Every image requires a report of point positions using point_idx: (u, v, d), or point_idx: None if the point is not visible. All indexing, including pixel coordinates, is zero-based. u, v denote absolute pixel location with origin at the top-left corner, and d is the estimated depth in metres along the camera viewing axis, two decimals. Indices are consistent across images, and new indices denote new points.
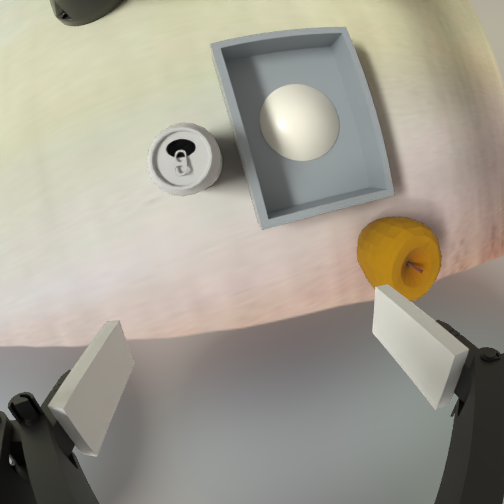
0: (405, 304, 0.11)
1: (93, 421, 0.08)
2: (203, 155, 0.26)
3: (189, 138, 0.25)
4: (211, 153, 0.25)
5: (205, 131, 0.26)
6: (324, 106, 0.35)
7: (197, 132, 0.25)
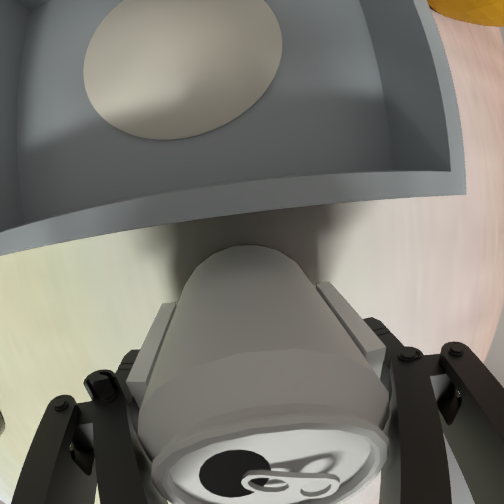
0: (337, 300, 0.13)
1: None
2: (283, 431, 0.05)
3: (201, 459, 0.05)
4: (290, 424, 0.05)
5: (170, 393, 0.06)
6: None
7: (176, 454, 0.05)
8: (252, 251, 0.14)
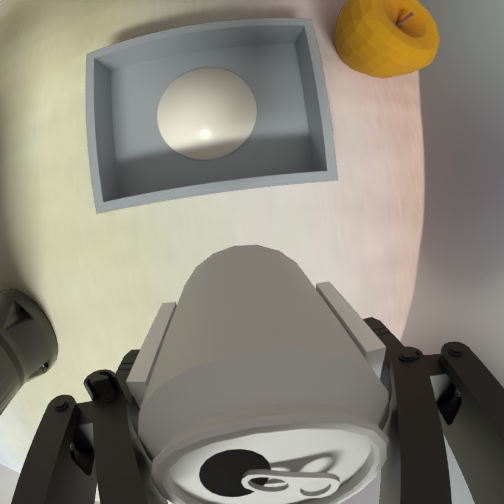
0: (337, 300, 0.13)
1: None
2: (283, 431, 0.05)
3: (201, 459, 0.05)
4: (290, 423, 0.05)
5: (170, 393, 0.06)
6: (189, 81, 0.27)
7: (176, 454, 0.05)
8: (252, 251, 0.14)
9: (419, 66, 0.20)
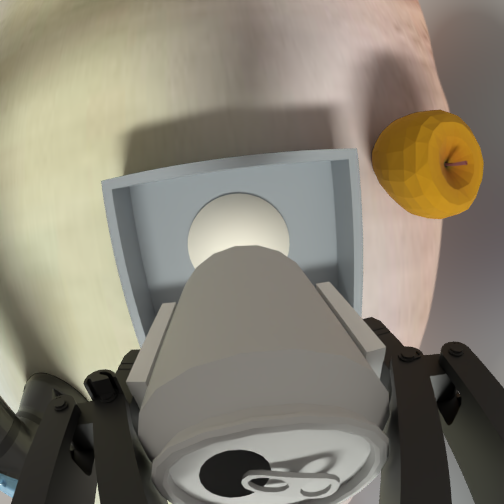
0: (337, 300, 0.13)
1: None
2: (284, 431, 0.05)
3: (201, 459, 0.05)
4: (290, 424, 0.05)
5: (170, 393, 0.06)
6: (219, 210, 0.30)
7: (176, 455, 0.05)
8: (252, 251, 0.14)
9: None
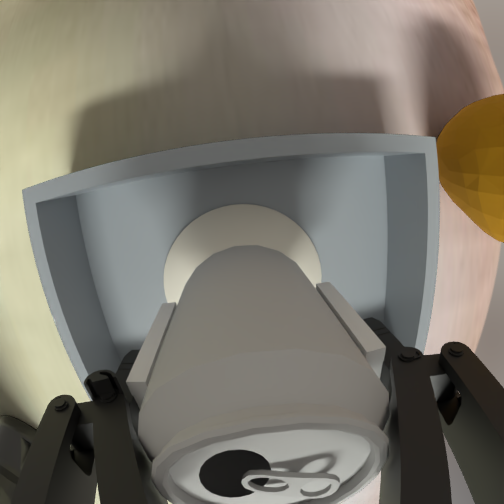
0: (337, 300, 0.13)
1: None
2: (284, 431, 0.05)
3: (201, 459, 0.05)
4: (290, 424, 0.05)
5: (170, 393, 0.06)
6: (212, 231, 0.18)
7: (176, 454, 0.05)
8: (252, 251, 0.14)
9: None
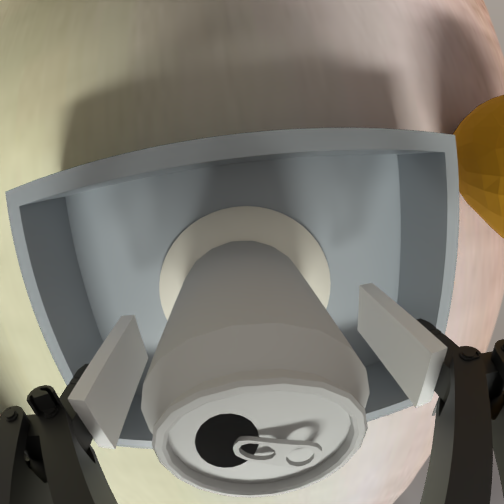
0: (387, 302, 0.12)
1: (111, 413, 0.09)
2: (268, 395, 0.06)
3: (197, 424, 0.07)
4: (271, 384, 0.06)
5: (171, 362, 0.07)
6: (212, 236, 0.17)
7: (174, 415, 0.06)
8: (246, 246, 0.15)
9: None
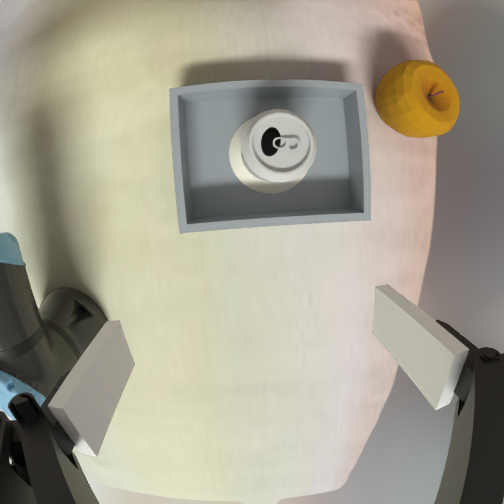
0: (405, 304, 0.11)
1: (93, 421, 0.08)
2: (283, 121, 0.25)
3: (263, 131, 0.25)
4: (284, 113, 0.24)
5: (257, 117, 0.26)
6: None
7: (259, 121, 0.25)
8: None
9: None
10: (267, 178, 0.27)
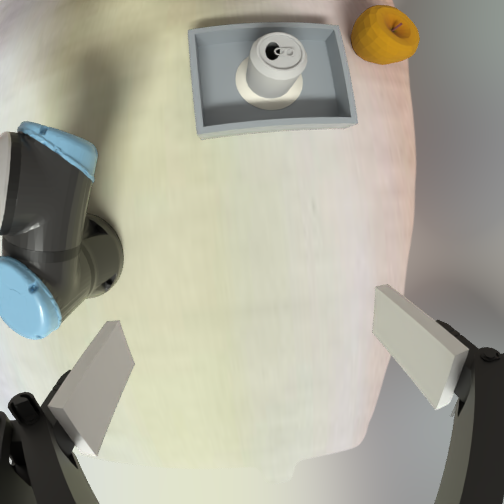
0: (405, 304, 0.11)
1: (93, 421, 0.08)
2: (281, 38, 0.29)
3: (266, 44, 0.29)
4: (281, 32, 0.28)
5: (261, 37, 0.29)
6: None
7: (263, 37, 0.28)
8: (271, 55, 0.37)
9: (406, 56, 0.32)
10: (271, 77, 0.31)
